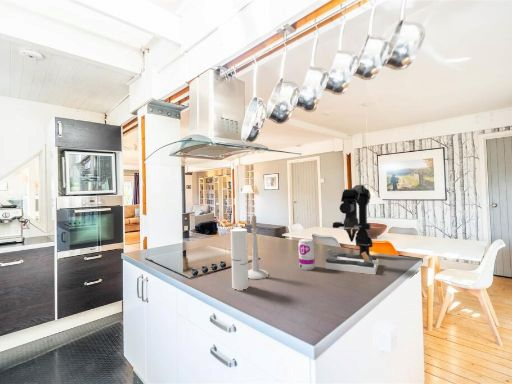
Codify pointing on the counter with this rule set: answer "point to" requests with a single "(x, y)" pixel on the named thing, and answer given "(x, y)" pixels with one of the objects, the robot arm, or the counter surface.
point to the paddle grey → (330, 253)
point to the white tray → (352, 267)
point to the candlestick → (255, 256)
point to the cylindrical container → (239, 259)
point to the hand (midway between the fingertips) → (351, 241)
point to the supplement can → (306, 254)
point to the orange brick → (365, 256)
